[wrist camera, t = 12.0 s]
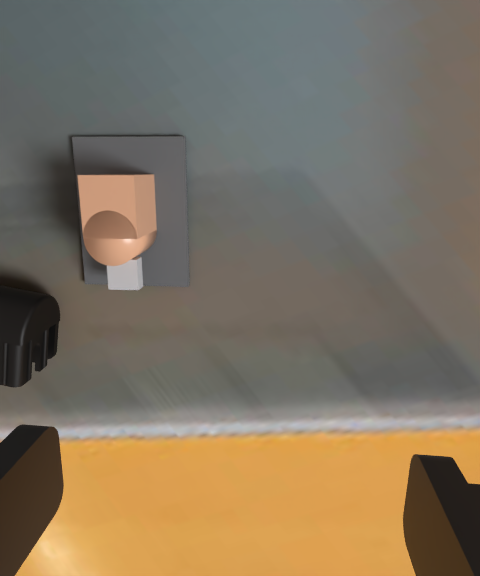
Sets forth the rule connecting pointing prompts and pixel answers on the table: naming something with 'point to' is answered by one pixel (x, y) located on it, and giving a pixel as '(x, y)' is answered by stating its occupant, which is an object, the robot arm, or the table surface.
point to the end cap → (26, 333)
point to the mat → (168, 198)
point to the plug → (118, 223)
